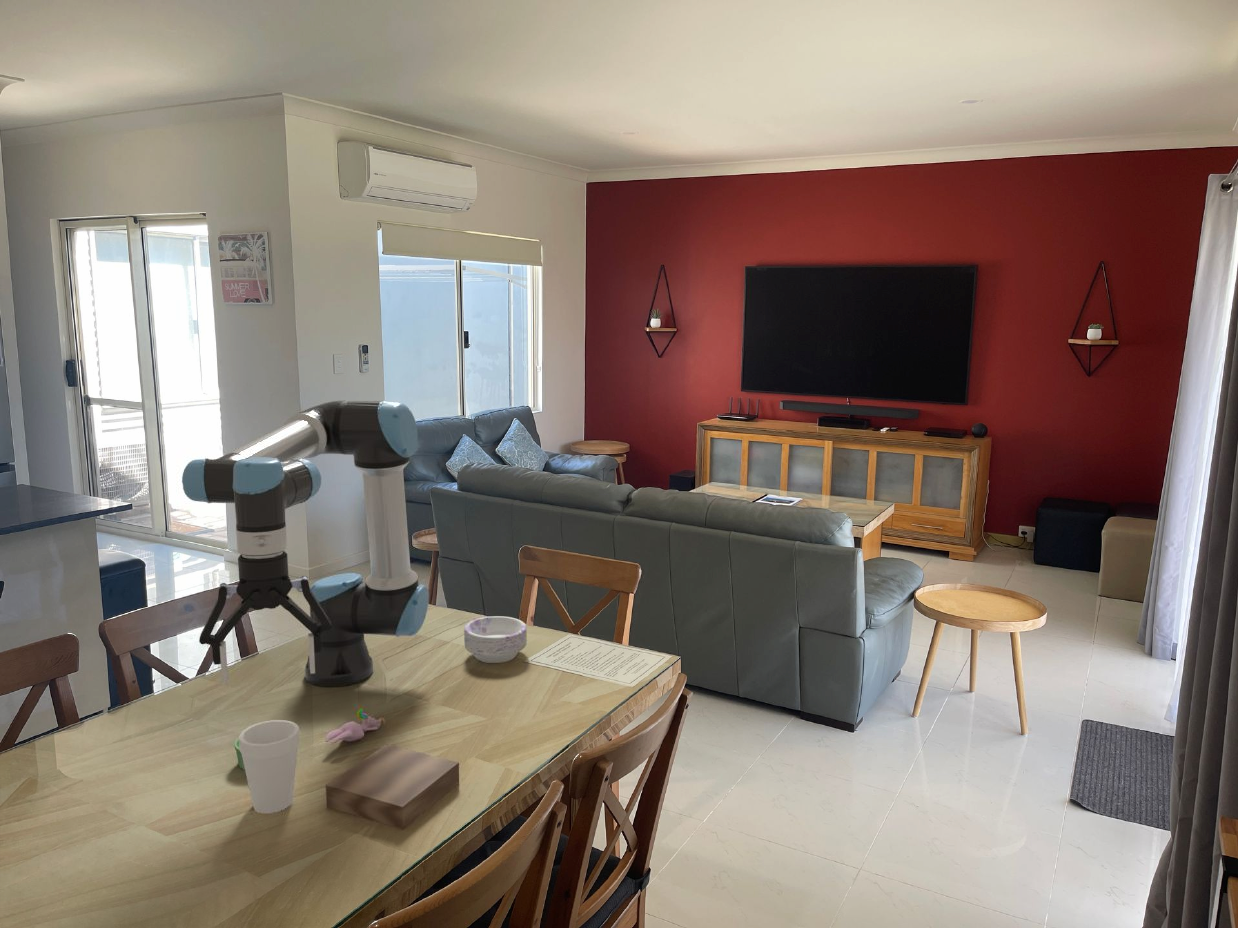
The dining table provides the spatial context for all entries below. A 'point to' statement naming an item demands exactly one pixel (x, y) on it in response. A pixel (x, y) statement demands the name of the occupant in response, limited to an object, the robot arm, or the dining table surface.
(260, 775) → the foam cup
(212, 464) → the robot arm
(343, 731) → the rabbit figure
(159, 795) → the dining table surface
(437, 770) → the walnut base
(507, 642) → the white bowl
